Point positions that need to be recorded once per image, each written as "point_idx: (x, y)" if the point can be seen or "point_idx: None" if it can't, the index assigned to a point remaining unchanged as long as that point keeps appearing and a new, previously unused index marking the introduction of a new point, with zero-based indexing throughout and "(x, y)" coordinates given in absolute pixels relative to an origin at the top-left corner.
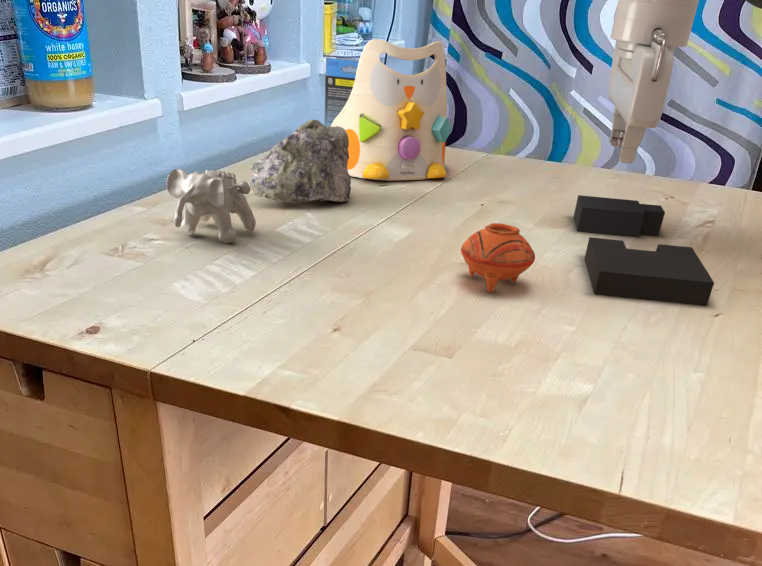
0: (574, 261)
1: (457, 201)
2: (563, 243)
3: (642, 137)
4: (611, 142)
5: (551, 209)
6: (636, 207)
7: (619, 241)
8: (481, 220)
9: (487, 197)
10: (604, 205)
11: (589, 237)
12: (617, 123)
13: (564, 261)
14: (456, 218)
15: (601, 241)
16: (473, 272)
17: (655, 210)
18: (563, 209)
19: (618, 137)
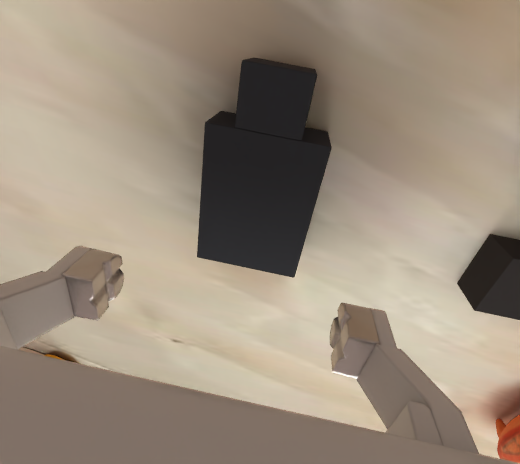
0: (467, 301)
1: (169, 362)
2: (368, 289)
3: (444, 396)
4: (118, 291)
5: (162, 253)
6: (277, 152)
7: (518, 268)
8: (256, 358)
9: (129, 325)
10: (272, 228)
11: (475, 310)
12: (46, 320)
13: (464, 314)
14: (253, 380)
15: (507, 299)
16: (505, 425)
17: (300, 102)
18: (154, 232)
19: (105, 288)
